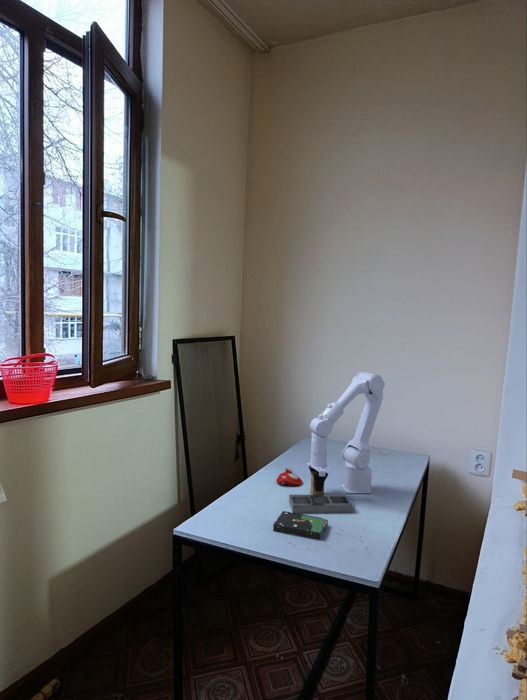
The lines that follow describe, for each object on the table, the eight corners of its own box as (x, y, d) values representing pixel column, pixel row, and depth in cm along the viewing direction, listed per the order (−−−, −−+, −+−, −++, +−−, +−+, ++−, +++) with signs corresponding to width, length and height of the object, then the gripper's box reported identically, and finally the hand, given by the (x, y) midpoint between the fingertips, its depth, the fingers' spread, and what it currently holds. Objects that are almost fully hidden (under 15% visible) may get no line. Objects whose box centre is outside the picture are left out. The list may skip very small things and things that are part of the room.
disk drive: (272, 533, 146) (321, 541, 142) (272, 524, 146) (321, 532, 141) (282, 518, 156) (328, 526, 151) (282, 510, 156) (328, 517, 151)
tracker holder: (308, 482, 184) (287, 480, 178) (304, 492, 185) (282, 491, 179) (291, 464, 194) (270, 462, 189) (287, 474, 195) (266, 473, 189)
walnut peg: (321, 492, 176) (322, 471, 176) (323, 497, 173) (324, 475, 172) (310, 493, 176) (311, 471, 175) (312, 497, 172) (313, 475, 171)
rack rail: (345, 501, 170) (345, 494, 169) (352, 512, 161) (352, 505, 161) (288, 501, 168) (289, 494, 168) (292, 513, 159) (293, 505, 159)
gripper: (304, 445, 179) (302, 481, 181) (311, 458, 165) (310, 496, 167) (323, 445, 180) (321, 481, 182) (332, 458, 166) (330, 496, 167)
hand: (317, 488), depth 174 cm, fingers closed on walnut peg, 4 cm apart
